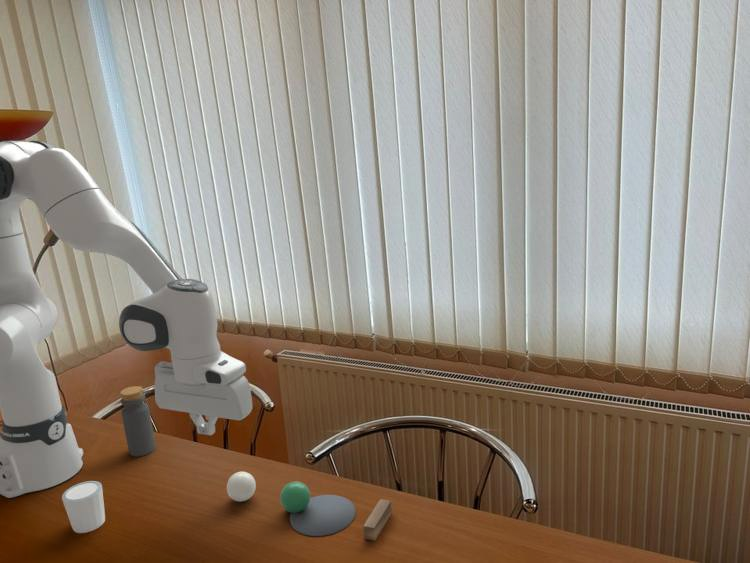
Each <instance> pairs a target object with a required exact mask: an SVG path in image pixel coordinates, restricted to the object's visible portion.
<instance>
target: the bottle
mask: <svg viewBox="0 0 750 563" xmlns="http://www.w3.org/2000/svg"><path fill="white" fill-rule="evenodd" d="M120 396H121V400H120V403H121V404H120V405H122V406H123V408H122V409H121V418H122V424H123V428H124V434H125V440H126V444H127V447H128V448H127V449H128V453H129V455H130V456H132V457H143V456H146V455H149V454H150V453H153V452H154V451H155V450H156V447H157V446H156V440H155V434H154V429H153V424H152V423H153V422H152V417H151V413H150V408H149V404H148V403H146V402H144V401H145V400H146V394H144V393H143V387H142V386H138V385H135V386H134V385H133V386H129V387H126V388H124V389H122V390H121V391H120Z"/></svg>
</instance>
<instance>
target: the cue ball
mask: <svg viewBox="0 0 750 563" xmlns="http://www.w3.org/2000/svg"><path fill="white" fill-rule="evenodd" d="M256 488H257V486H256V480H255V478H254V476H253V475H252V474H251V473H249V472H247V471H238V472H235V473H233V474H232V475H231V476H230V477H229V478H228V481H227V484H226V492H227V494H228V496H229V497H230V498H231V500H233V501H235V502H240V503H241V502H246V501H247V500H249V499H250V498H252V496H253V495H254V494H255V492H256Z"/></svg>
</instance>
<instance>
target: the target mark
mask: <svg viewBox="0 0 750 563" xmlns="http://www.w3.org/2000/svg"><path fill="white" fill-rule="evenodd" d="M355 516H356V507H355V505H354V503H353V502H352V501H351V500H350V499H348V498H346V497H344V496H341V495H338V494H321V495H316V496H312V497H310V502H309V504H308V506H307V507H306V508H305V509H304V510H303V511H301V512H298V513H291V512H290V516H289V521H290V526H291V528H292V529H294V530H295V531H296V533H297V532H298V533H299V534H302V535H304V536H310V537H323V536H324V537H325V536H329V535H334V534H336V533H339V532H340V531H342V530H344V529H346V528H347V527H348V526H350V524H352V522H353V521H354V519H355Z"/></svg>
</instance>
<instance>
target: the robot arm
mask: <svg viewBox="0 0 750 563" xmlns="http://www.w3.org/2000/svg"><path fill="white" fill-rule="evenodd" d="M27 199H29V200H30V201H32V202H33V203H34V205H35V207H36V208H37V209H38V211H39V213H40V215H41V216H42V217H43V219H44V220H45V222H46V223H47V225H48V226H49V228H50V229H51V231H52V233H53V234H54V235H55V236H56V237H57V238H58V239H59V240H60V241H61V242H62V243H64V245H66V246H67V247H69V248H72V249H74V250H77V251H81V252H88V253H98V254H104V255H109V256H112V257H115V258H117V259H118V258H119V259H120V260H122V261H124V262H125V263H126V264H127V265H128V266H130V267H131V268H132V269H133V271H134V272H135V273H136V275H137V276H138V277H139V278H140V279H141V280H142V282H144V284H145V286H146V287H148V288H149V290H150V291H151V292H152V294H150V295H148V296H144V297H142V298H140V299H138V300H136V301H133V302H132V303H130V304H128V305H127V306H126V307H124V308H123V309H122V310H121V313H120V315H119V319H118V327H119V332H120V334H121V337H122V338H123V340H124V341H125V343H126V344H127V345H128V346H130V347H131V348H132V349H134V350H137V351H139V352H149V351H150V352H151V351H157V350H161V349H168V350H170V358H171V362H167V361H164V360H163V361H160V362H159V363H157V364H156V365H155V367H154V376H155V378H154V399H155V403H156V405H157V406H158V408H159V409H164V410H170V411H175V412H182V413H189V417H190V419H191V421H192V422H193V423H194V425H195V426H196V432H197V434H199V435H200V434H201V435H206V436H212V435H214V434H215V433H216V425H215V424H216V423H217V421H218V419H220V418H222V419H229V420H234V421H241V420H244V419H245V418H246V417H248V415H250V413H251V412H252V410H253V399H252V393H251V392H252V391H251V386H250V383H249V381H248V380H249V379H248V378H246V376H245V375H244V374H245V373H246V372H247V366H246V363H245V362H243V361H242V360H239V359H236V358H235V357H232V355H230V354H228V353H225V352H224V351H222V350H221V345H220V342H219V339H218V337H217V331H218V319H217V312H216V306H215V302H214V301H215V300H214V297H213V294H212V292H211V290H210V288H209V286H208V285H207V284H206V283H205V282H202V281H201V280H197V279H193V278H186V279H185V278H182V276H180V275H179V274H178V272H177V271H176V270H175V269H174V267H172V265H171V264H170V263H169V262H168V260H167V259H166V258H165V256H163V255H162V253H161V252H160V251H159V249H158V248H157V247H156V246H155V245H154V243H153V242H152V241H151V240H150V239H149V237H147V235H146V233H144V232H143V231H142V229H140V228H139V227H138V226H137V225H136V224H135V223H133V222H132V221H131V220H130V219H127V218H126V217H125V216H124V215H123V214H122V213H121V212H120V211H119V210H117V208H116V207H115V206H114V205H113V204H112V203H111V202H110V200H109V199H108V197H106V195H105V194H104V193H103V191H102V190H101V188H100V186H99V185H98V184H97V182H96V181H95V180H94V178H93V177H92V176H91V175H90V173H89V172H88V171H87V170H86V168H84V166H83V165H82V164H81V163H80V162H79V160H77V159H76V157H74V156H73V155H72V154H71V153H70V152H69V151H67V150H66V149H63V148H59V147H57V146H55V145H53V144H52V143H48V142H44V141H39V140H29V141H22V140H2V141H0V413H1V415H2V420H1V421H0V428H1V432H0V495H1V496H4V497H5V498H8V499H10V498H11V499H12V498H16V497H18V496H22V495H25V494H27V493H33V492H37V491H42V490H46V489H49V488H52V487H55V486H57V485H59V484H62V483H63V482H66V481H67V480H69V479H71V478H72V477H74V476H75V475H76V474H77V473H79V472H80V470H81V468H82V467H83V464H84V462H83V460H82V458H83V456H84V450H83V448H82V447H79V446H78V443H77V439H76V436H75V434H74V430H73V428H72V425H71V424H70V423H68V417H67V412H66V409H65V407H64V405H62V402H61V397H60V392H59V387H58V384H57V379H56V378H57V377H56V376H55V374H54V372H53V371H52V370H50V369H48V368H47V367H46V366H45V364H44V363H43V361H42V360H41V357H40V355H39V352H38V345H39V344H41V343H42V342H43V341H45V340H46V339H47V338H48V337H49V336H51V334H52V332H53V330H54V329H55V327H56V324H57V322H58V319H59V313H58V309H57V307H56V305H55V303H54V302H53V301H52V300H51V299H50V298H49V297H47V296H46V295H45V293H44V291H43V289H42V287H41V285H40V283H39V282H38V279H37V277H36V275H35V272H34V270H33V266H32V262H31V259H30V254H29V250H28V246H27V241H26V238H25V237H26V236H25V233H24V228H23V225H22V220H21V217H20V207H21V205H22V203H23V202H24V201H26V200H27ZM203 416H205V419H204V418H203ZM205 420H206V421H205Z"/></svg>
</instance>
